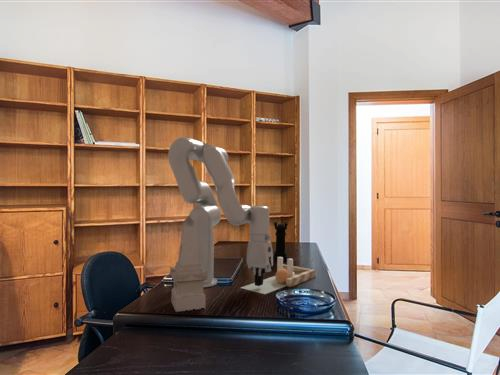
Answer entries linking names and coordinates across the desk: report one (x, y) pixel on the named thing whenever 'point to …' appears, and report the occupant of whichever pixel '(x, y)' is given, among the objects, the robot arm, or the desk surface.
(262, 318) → the desk surface
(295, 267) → the backstop
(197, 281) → the miniature monument
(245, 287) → the lane
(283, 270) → the ball
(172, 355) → the desk surface
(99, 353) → the desk surface
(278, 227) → the chess piece
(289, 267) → the pin
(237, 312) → the desk surface
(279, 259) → the pin
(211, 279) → the robot arm
